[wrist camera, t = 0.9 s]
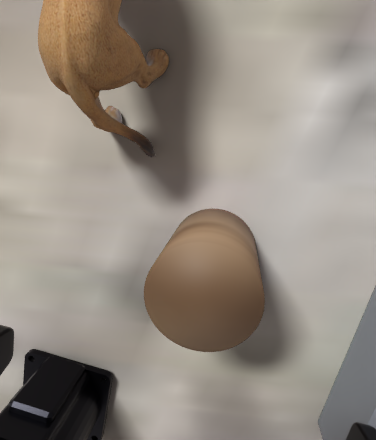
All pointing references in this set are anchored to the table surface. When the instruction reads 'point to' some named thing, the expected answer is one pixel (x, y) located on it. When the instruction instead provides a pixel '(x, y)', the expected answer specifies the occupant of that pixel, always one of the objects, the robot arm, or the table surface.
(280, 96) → the table surface
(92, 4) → the lion figurine
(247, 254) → the brown rounded cylinder
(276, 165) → the table surface
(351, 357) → the low wall
